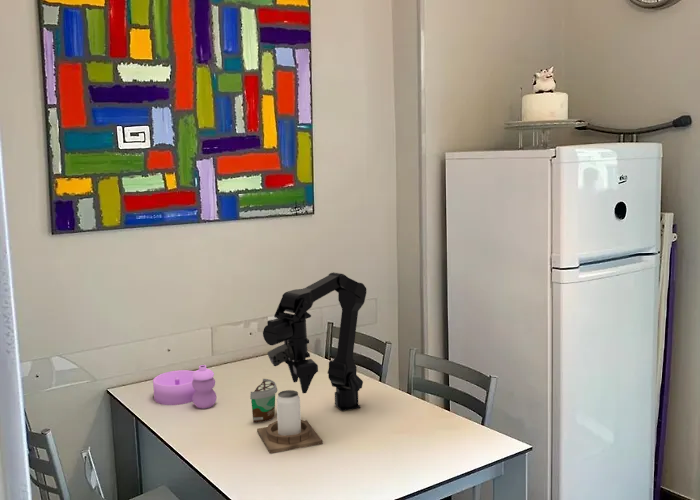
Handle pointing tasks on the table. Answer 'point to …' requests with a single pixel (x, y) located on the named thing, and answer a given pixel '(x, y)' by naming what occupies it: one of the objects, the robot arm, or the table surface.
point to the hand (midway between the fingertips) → (299, 387)
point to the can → (288, 413)
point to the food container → (263, 401)
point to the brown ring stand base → (288, 438)
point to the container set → (185, 387)
